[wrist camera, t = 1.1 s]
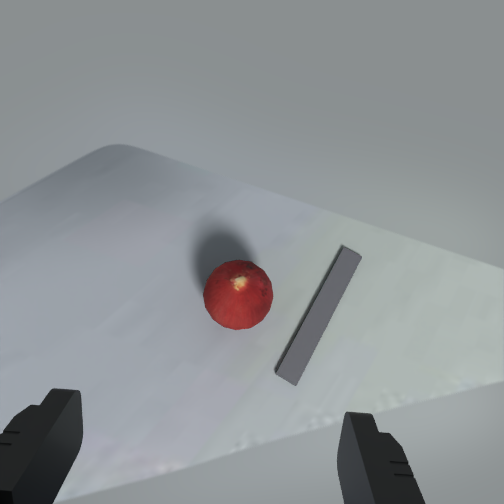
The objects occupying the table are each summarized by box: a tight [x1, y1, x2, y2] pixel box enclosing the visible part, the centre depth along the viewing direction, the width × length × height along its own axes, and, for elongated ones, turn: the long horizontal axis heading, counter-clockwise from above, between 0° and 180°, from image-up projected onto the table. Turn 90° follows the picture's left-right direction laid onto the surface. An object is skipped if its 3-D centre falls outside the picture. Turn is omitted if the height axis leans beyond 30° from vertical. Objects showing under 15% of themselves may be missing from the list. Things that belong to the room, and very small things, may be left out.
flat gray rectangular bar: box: [276, 247, 362, 386], centre depth 40 cm, size 2×14×1 cm, turn 150°
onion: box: [203, 260, 273, 330], centre depth 36 cm, size 6×6×8 cm
